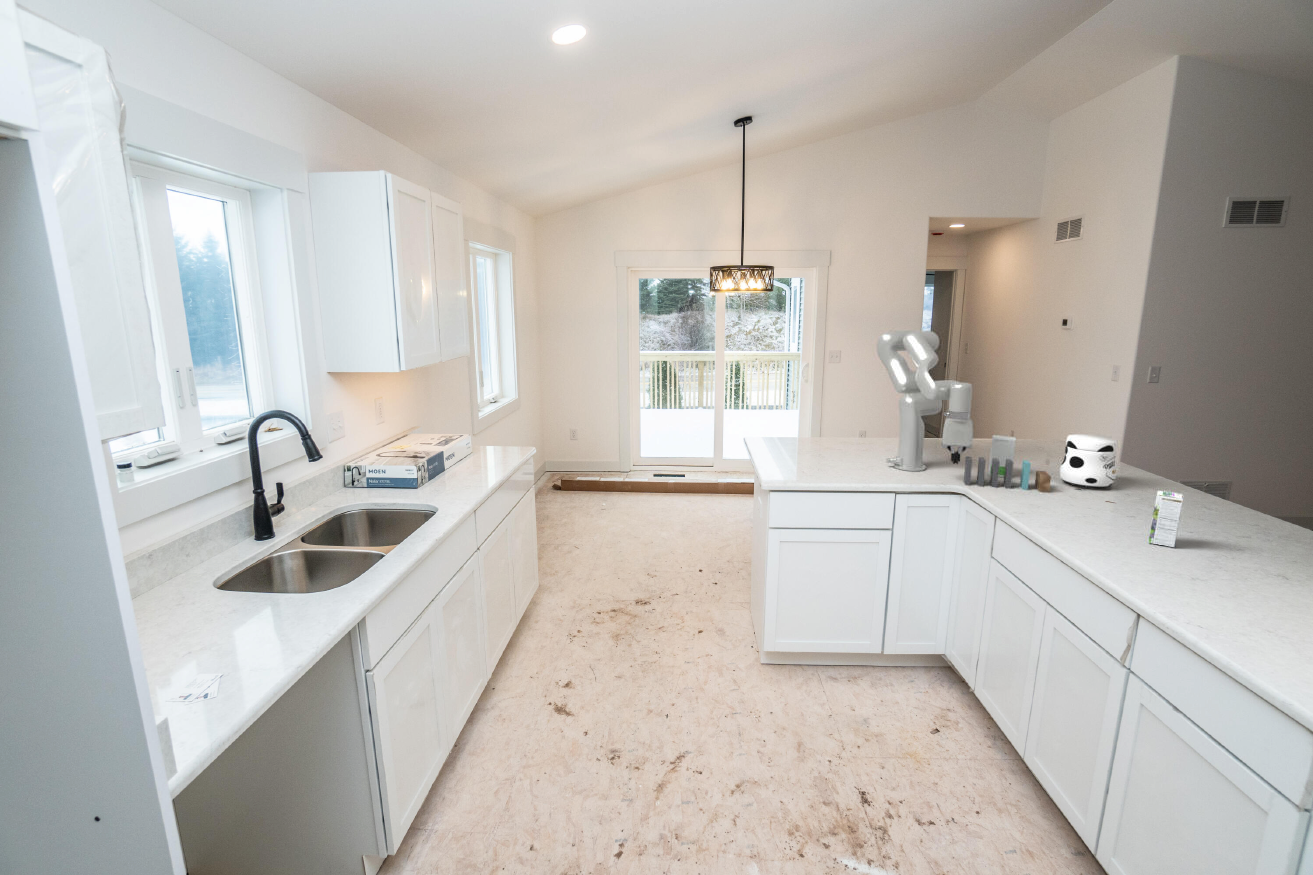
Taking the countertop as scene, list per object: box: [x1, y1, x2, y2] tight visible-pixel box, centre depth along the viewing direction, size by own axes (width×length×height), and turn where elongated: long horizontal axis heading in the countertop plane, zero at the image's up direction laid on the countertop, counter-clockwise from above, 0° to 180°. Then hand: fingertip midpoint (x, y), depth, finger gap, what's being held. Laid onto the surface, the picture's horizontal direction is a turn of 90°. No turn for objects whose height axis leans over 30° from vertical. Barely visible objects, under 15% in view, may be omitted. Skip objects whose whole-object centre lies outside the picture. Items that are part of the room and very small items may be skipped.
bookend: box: [1034, 470, 1052, 494], centre depth 224 cm, size 3×8×6 cm, turn 160°
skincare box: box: [987, 435, 1017, 478], centre depth 243 cm, size 8×7×16 cm
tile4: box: [1002, 459, 1014, 489], centre depth 228 cm, size 2×5×10 cm, turn 160°
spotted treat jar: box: [1059, 433, 1118, 489], centre depth 228 cm, size 17×17×18 cm
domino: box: [1019, 459, 1032, 491], centre depth 226 cm, size 2×5×10 cm, turn 160°
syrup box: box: [1148, 490, 1184, 548], centre depth 171 cm, size 6×6×14 cm
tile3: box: [989, 458, 1000, 489], centre depth 229 cm, size 2×5×10 cm, turn 160°
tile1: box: [963, 456, 973, 486], centre depth 232 cm, size 2×5×10 cm, turn 160°
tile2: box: [976, 456, 987, 487], centre depth 231 cm, size 2×5×10 cm, turn 160°
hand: (955, 463), depth 233 cm, fingers closed
